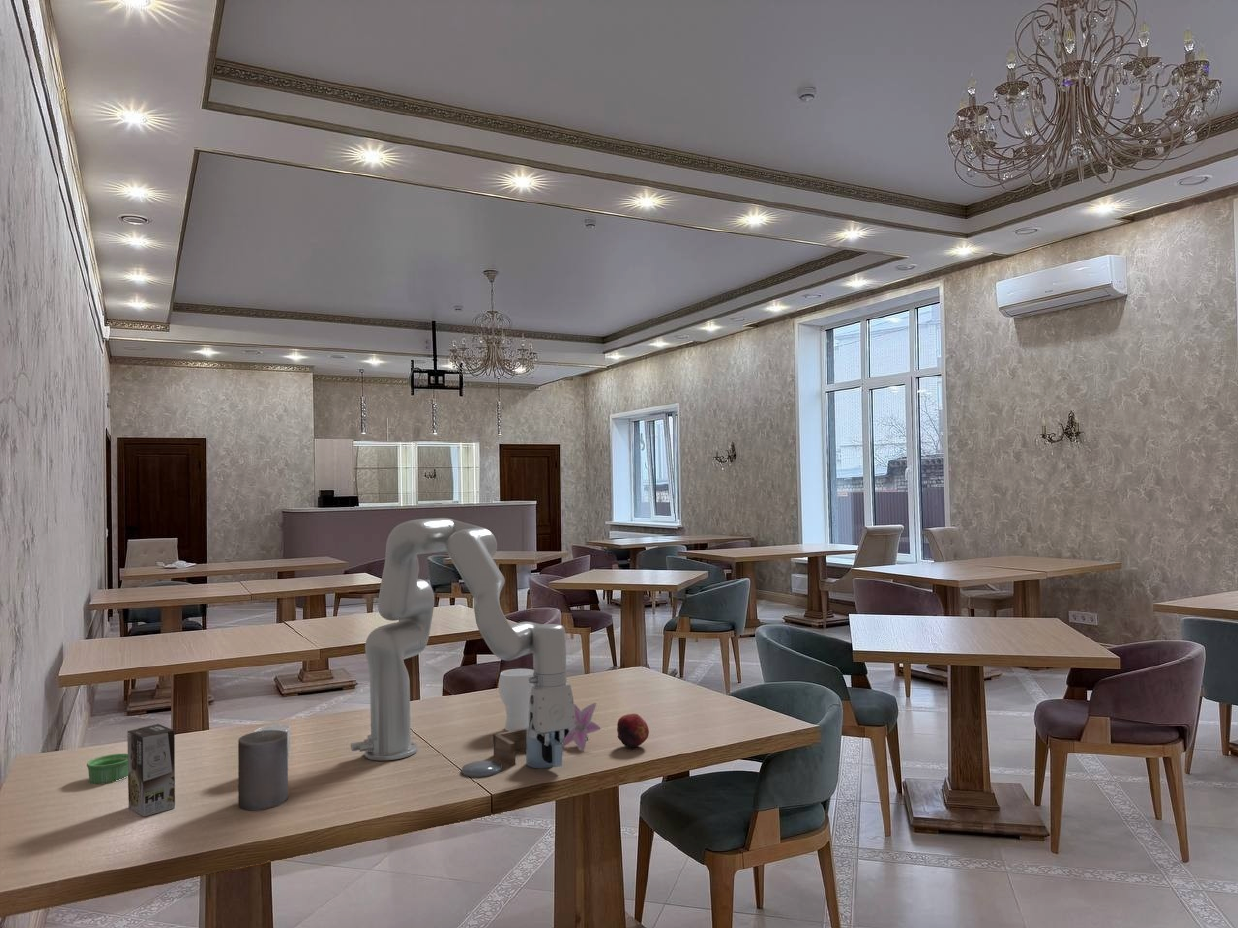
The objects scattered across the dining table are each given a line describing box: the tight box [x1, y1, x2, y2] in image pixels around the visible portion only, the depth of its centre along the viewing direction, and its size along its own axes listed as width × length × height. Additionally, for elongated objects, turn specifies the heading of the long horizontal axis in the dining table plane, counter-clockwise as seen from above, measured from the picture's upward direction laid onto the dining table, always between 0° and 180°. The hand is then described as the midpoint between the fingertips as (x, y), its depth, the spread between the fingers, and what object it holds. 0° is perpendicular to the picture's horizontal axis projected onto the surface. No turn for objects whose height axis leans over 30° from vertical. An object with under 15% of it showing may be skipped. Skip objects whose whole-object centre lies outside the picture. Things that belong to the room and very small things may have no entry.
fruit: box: [616, 713, 650, 749], centre depth 204 cm, size 8×8×8 cm
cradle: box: [492, 728, 527, 766], centre depth 200 cm, size 12×10×5 cm
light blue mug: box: [525, 726, 563, 770], centre depth 191 cm, size 7×12×8 cm, turn 33°
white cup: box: [253, 724, 291, 760], centre depth 192 cm, size 8×8×10 cm
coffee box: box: [126, 723, 176, 818], centre depth 172 cm, size 9×6×16 cm
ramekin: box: [86, 753, 128, 784], centre depth 192 cm, size 9×9×4 cm
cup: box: [498, 668, 534, 732], centre depth 223 cm, size 11×11×15 cm
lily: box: [562, 702, 602, 751], centre depth 208 cm, size 12×12×10 cm
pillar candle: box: [237, 730, 289, 811], centre depth 174 cm, size 10×10×15 cm
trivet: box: [461, 760, 503, 778], centre depth 189 cm, size 9×9×1 cm
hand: (552, 759), depth 188 cm, fingers closed on light blue mug
